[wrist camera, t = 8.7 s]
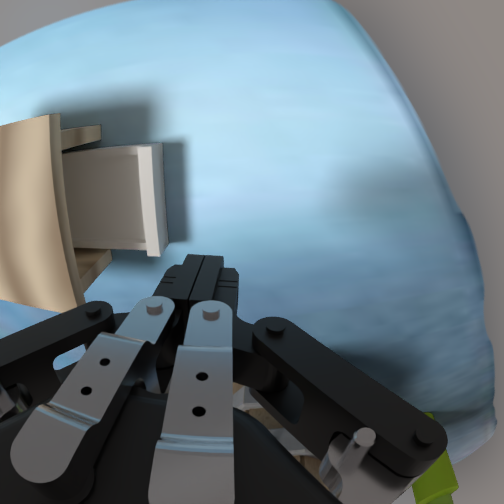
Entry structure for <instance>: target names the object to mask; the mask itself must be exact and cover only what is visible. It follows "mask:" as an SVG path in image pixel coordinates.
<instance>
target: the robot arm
mask: <svg viewBox="0 0 504 504" xmlns="http://www.w3.org/2000/svg"><path fill="white" fill-rule="evenodd" d="M238 285H239V274H238V272H237V271H236V269H235V268H224V258H223V256H212V255H206V256H205V255H195V254H188V255H187V256H186V258H185V260H184V262H183V264H182V265H173V266H172V267H170V268H169V269H167V271H166V272H165V274H164V276H163V278H162V279H161V281H160V283H159V285H158V286H157V288H156V290H155V292H154V294H153V295H152V296H151V297H147V298H144V299H142V300H140V301H139V302H138V303H137V304H136V305H135V306H134V308H133V309H132V310H131V312H128V313H116V314H114V313H113V309H112V306H111V305H110V304H109V303H107V302H104V301H92V302H88V303H85V304H83V305H80V306H78V307H76V308H73V309H71V310H68V311H66V312H63V313H61V314H59V315H56V316H54V317H51V318H49V319H47V320H44V321H42V322H39V323H37V324H35V325H32V326H30V327H28V328H25V329H23V330H21V331H18V332H16V333H13V334H11V335H9V336H6V337H4V338H2V339H0V504H391V503H392V502H393V501H394V500H396V499H397V498H398V497H399V496H400V495H402V494H403V493H404V492H405V491H406V490H407V489H408V488H409V487H410V486H411V485H412V484H413V483H415V482H416V481H417V480H418V479H419V478H420V477H421V476H422V475H423V474H424V473H425V472H426V471H427V470H428V469H429V468H430V467H431V466H432V465H433V464H434V462H435V461H436V460H437V459H438V458H439V457H440V456H441V455H442V454H443V453H444V451H445V450H446V447H447V443H448V439H447V434H446V432H445V430H444V428H443V427H442V426H441V425H440V424H439V423H438V422H437V421H435V420H434V419H432V418H430V417H429V416H427V415H426V414H424V413H423V412H421V411H420V410H418V409H417V408H415V407H414V406H412V405H411V404H409V403H408V402H406V401H405V400H403V399H402V398H400V397H399V396H397V395H396V394H394V393H393V392H391V391H390V390H388V389H387V388H385V387H384V386H382V385H381V384H379V383H378V382H376V381H375V380H373V379H372V378H370V377H369V376H368V375H366V374H365V373H363V372H362V371H360V370H359V369H357V368H356V367H354V366H353V365H352V364H350V363H349V362H347V361H346V360H344V359H343V358H341V357H340V356H339V355H337V354H336V353H334V352H333V351H331V350H330V349H329V348H327V347H326V346H324V345H323V344H322V343H320V342H319V341H317V340H316V339H315V338H313V337H312V336H310V335H309V334H308V333H306V332H305V331H303V330H302V329H301V328H299V327H298V326H296V325H295V324H294V323H292V322H291V321H289V320H287V319H284V318H280V317H266V318H262V319H260V320H258V321H257V322H256V323H255V324H254V325H253V324H250V323H247V322H244V321H242V320H241V319H240V318H238V317H237V308H238ZM82 344H84V346H85V349H86V352H85V353H84V355H83V356H82V357H81V359H80V360H79V361H77V362H75V363H73V364H71V365H69V366H67V367H64V368H62V369H60V370H54V368H53V361H54V359H55V358H56V357H57V356H59V355H61V354H63V353H65V352H67V351H69V350H72V349H74V348H76V347H78V346H80V345H82ZM233 382H234V383H237V384H240V385H243V386H247V387H249V392H250V394H251V396H252V397H253V398H254V399H255V400H256V401H257V402H258V403H259V404H260V405H261V406H262V407H263V408H264V409H265V410H266V411H267V412H268V413H269V414H270V415H271V416H272V417H273V418H274V419H275V420H277V421H278V422H279V423H280V424H281V425H282V426H283V427H284V428H285V429H286V430H287V431H288V432H289V433H290V434H291V435H292V436H294V437H295V438H296V439H297V440H298V441H299V442H300V443H301V444H302V445H303V446H304V447H306V448H307V449H308V450H309V451H310V452H311V453H312V454H313V455H315V456H316V457H317V458H318V459H319V460H320V461H321V464H320V467H319V475H320V478H321V480H322V481H323V483H324V484H325V485H326V486H327V487H328V489H329V490H328V489H327V488H326V487H324V486H323V485H322V484H321V483H320V482H319V481H318V480H317V479H316V478H315V477H314V476H313V475H312V474H311V473H310V472H309V471H308V470H307V469H306V468H305V467H304V466H303V465H302V464H301V463H300V462H299V461H298V460H297V459H296V458H295V457H294V456H293V455H292V454H291V453H290V452H289V451H288V450H287V449H286V448H285V447H284V446H283V445H282V444H281V443H280V442H279V441H278V440H277V439H276V438H275V437H274V436H273V435H272V433H271V432H270V431H269V430H268V429H267V428H266V427H265V426H264V425H263V424H262V423H261V422H259V421H258V420H257V419H256V418H254V417H253V416H251V415H250V414H248V413H246V412H244V411H242V410H240V409H238V408H235V407H233Z"/></svg>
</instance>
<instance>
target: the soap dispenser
mask: <svg viewBox="0 0 504 504" xmlns="http://www.w3.org/2000/svg"><path fill="white" fill-rule="evenodd" d="M424 414H426V415H427V416H429V417H430V418H432V419H434V416H433V414H432V413H428V412H425V413H424ZM434 420H435V419H434ZM458 487H459V486H458V483H457V480H456V477H455V474H454V471H453V468H452V465H451V462H450V459H449V456H448V453H447V450H445V451H444V453H443V454H442V455H441V456H440V457H439V458H438V459H437V460H436V461H435V462H434V464H433V465H432V466H431V467H430V468H429V469H428V470H427V471H426V472H425V473H424V474H423V475H422V476H421V477H420V478H419V479H418V480H417V481H416V482H415V483H413V484H412V488H413V492H414V497H415V501H416V504H453V500H452V496H451V494H452V493H453V492H454V491H456V490H457V489H458Z"/></svg>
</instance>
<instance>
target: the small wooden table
mask: <svg viewBox="0 0 504 504" xmlns="http://www.w3.org/2000/svg"><path fill="white" fill-rule="evenodd" d="M98 140H101V125H93V126H85V127H77V128H70V129H63V130H61V128H60V113H57V114H49V115H44V116H39V117H35V118H30V119H26V120H22V121H18V122H14V123H10V124H6V125H2V126H0V299H2V300H6V301H10V302H14V303H18V304H23V305H27V306H31V307H36V308H41V309H45V310H50V311H55V312H60V313H63V312H66V311H68V310H71V309H73V308H76V307H78V306H80V305H83V304H85V303H86V302H85V298H84V292H85V291H86V290H87V289H88V288H89V286H90V285H91V284H92V283H93V282H94V281H95V279H96V278H97V277H98V276H99V275H100V274H101V273H102V271H103V270H104V269H105V268H106V267H107V266H108V265H109V263H110V262H111V261H112V255H111V249H98V248H73V243H72V237H71V232H70V225H69V219H68V212H67V204H66V196H65V188H64V178H63V166H62V152H61V150H64V149H68V148H71V147H75V146H78V145H82V144H86V143H90V142H94V141H98Z"/></svg>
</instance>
